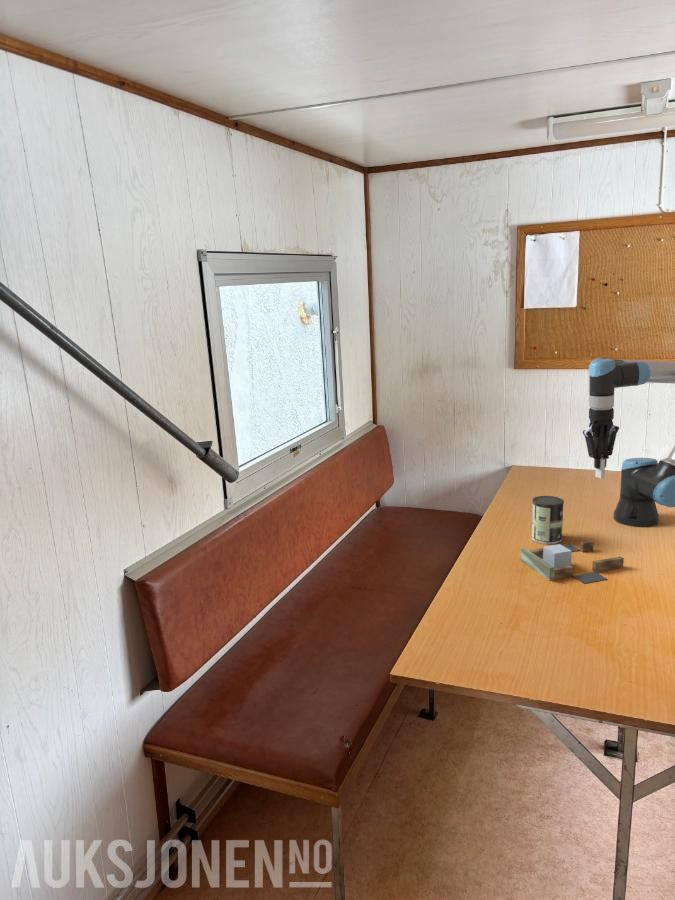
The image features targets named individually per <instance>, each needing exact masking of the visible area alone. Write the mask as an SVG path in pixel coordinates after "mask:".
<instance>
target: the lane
mask: <svg viewBox="0 0 675 900" xmlns="http://www.w3.org/2000/svg"><path fill="white" fill-rule="evenodd" d="M594 542H595V541H592V540H584V541H580V543H579V544H580V545H579V550H580V551H579V552H580V553H581V552H582V553H587V552H591V551H594ZM520 561H521V563H524V564H525V565H526V566H528V567H529V568H531V569H532V570H533V571H535V572H536V573H538V574H540V575H541V576H542V577H543V578H545V579H546V580H548V581H554V580H559V579H566V578H570V577H571V578H572V577H573V576H574V575H573V574H574V566H572V565H571V566H570V565H569V566H563V567H557V568H554V567H553V566H552V565H550V564H549V563H547V562H545V561H544V560H543V547H542V548H535V549H527V548H521V549H520ZM624 561H625V559H624V557H623V556H616V557H611V558H610V557H609V558H605V559H599V560H592V569H591V570H592V572H597V573H600V572H604V571H605V572H606V571H610V570H616V569H617V570H618V569H622V568H624Z"/></svg>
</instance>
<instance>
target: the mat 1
mask: <svg viewBox="0 0 675 900" xmlns="http://www.w3.org/2000/svg"><path fill="white" fill-rule="evenodd" d="M561 545H562V546H564V547H566V548H567V549H569V550H571V551H572V553H573V552H581V551H580V548H577V547H576V546H574V545H572V544H570V543H568V544H561Z"/></svg>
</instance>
